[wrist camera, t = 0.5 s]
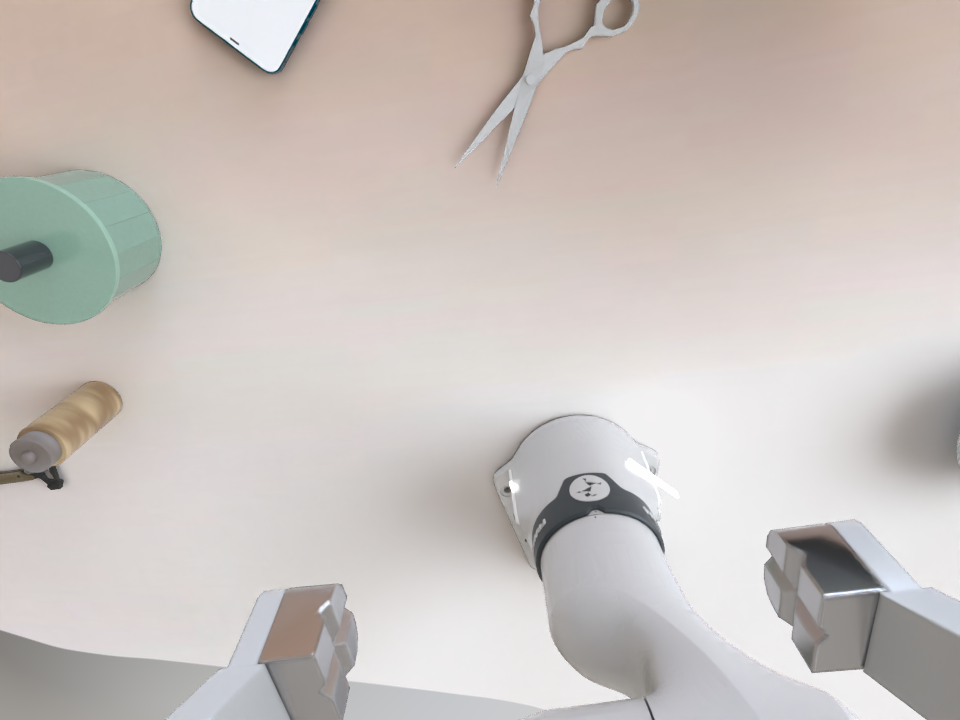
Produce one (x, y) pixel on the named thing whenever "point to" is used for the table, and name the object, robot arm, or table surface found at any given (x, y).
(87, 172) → the pot
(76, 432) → the pepper mill
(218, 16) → the smartphone
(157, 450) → the table surface
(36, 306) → the pot lid
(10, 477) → the tomahawk
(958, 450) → the cereal bowl
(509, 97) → the scissors
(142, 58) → the table surface
